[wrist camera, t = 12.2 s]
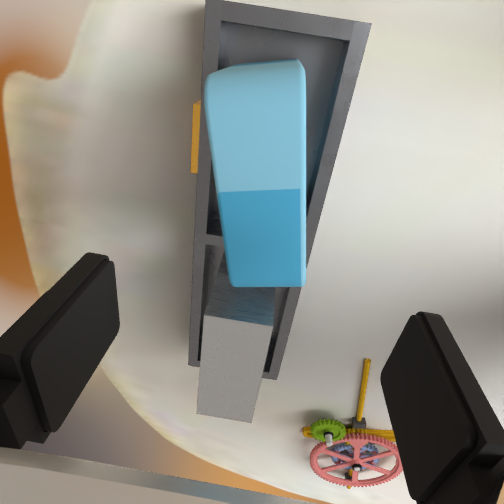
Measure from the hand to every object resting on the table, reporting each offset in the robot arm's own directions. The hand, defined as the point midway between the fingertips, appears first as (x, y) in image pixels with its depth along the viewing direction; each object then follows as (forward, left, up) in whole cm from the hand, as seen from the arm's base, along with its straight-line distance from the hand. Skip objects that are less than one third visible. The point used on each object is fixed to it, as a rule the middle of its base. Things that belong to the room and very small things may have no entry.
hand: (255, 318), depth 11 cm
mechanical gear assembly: (-18, +37, -21) cm, 46 cm away
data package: (0, 0, -20) cm, 20 cm away
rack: (+1, +7, -21) cm, 22 cm away
